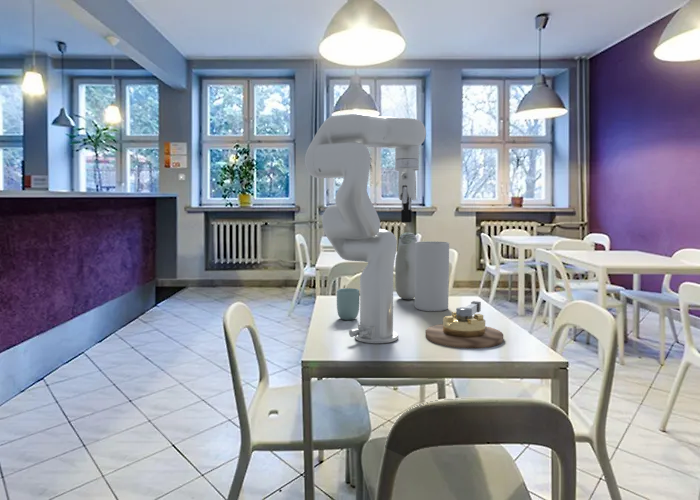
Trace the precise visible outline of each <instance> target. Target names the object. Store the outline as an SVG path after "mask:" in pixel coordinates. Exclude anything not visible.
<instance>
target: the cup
mask: <svg viewBox="0 0 700 500" xmlns="http://www.w3.org/2000/svg"><path fill="white" fill-rule="evenodd" d="M336 311H337V312H336V313H337V315H338V317H339V319H341V320H343V321H352V320H355V319H357V318H358V316H359V314H360V288H354V287H353V288H352V287H349V288H348V287H347V288H344V287H343V288H338V289H337V290H336Z"/></svg>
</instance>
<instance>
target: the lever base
mask: <svg viewBox="0 0 700 500" xmlns="http://www.w3.org/2000/svg"><path fill="white" fill-rule="evenodd" d="M425 338H426V340H428V341H430V342H432V343H434V344H437V345H440V344H441V346H445V345H446V346H445V347H450V346H451V348H459V349H461V348H462V349H485V347H487V348H493V347H497V346H499V345H502V343H504V333H503V332H502V331H500V330H499V329H496V328H494V327H490V326H486V325H485V334H484V335H481V336H475V337H462V336H454V335H450V334H447V333H445V332H443V323H440V324H434V325H431V326H429V327H427V328H426V329H425Z"/></svg>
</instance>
